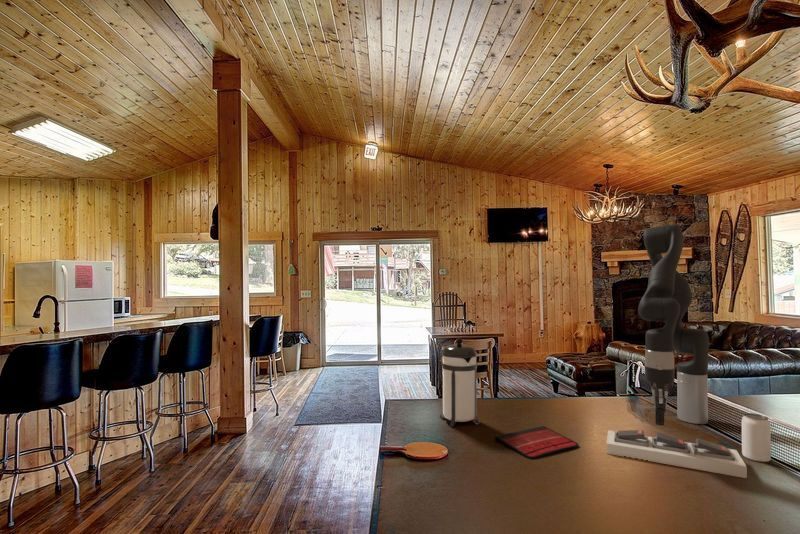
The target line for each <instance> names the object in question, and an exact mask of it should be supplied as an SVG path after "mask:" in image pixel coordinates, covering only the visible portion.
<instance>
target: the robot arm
mask: <svg viewBox="0 0 800 534" xmlns="http://www.w3.org/2000/svg"><path fill="white" fill-rule="evenodd" d="M684 241H685V240H684V235H683V230H682V228H681V227H680V226H679V224H666V225H659V226H653V227H648V228H646V229H645V230H644V231H643V243H644V246H645V250H646V253H647V255H648V258H649V261H650V264H651V266H652V268H651V270H650V271H649V274H648V280H647V281H648V283H647V288H646V290H645V292H644V294H643V296H642V297H641V299H640V301H639V304H638V307H637V313H638V316H639V318H641V319H642V320H644V321H646V322H661V323H663V322H664V326H662V327H660V328H653V329H652V328H651V329H647V330H646V331H645V352H644V380H645V381H647V382H649V383H653V384H654V386H653V385H651V393H652V394H651V395H652V404H653V406H654V407H653V408H654V415H655V416H654V417H655V418H654V420H655V421H654V422H655V425H657V426H662V427H663V426H665V414H666V412H667V411H666V410H667V409H666V407H667V404H668V403H667V401H668V397H669V395H668V394H669V391H668V388H667V387H665V386H666V385H672V384H674V383H675V380H676V387H677V388H676V389H677V390H676V391H677V392H676V394H677V395H676V396H677V397H676V398H677V399H676V400H677V402H676V403H677V406H676V407H677V412H676V413H677V416H676V417H677V419H679V420H680V421H682V422H686V423H690V424H696V425H699V424H700V425H704V424H708V423H709V394H708V393H709V392H708V390H709V389H708V385H709V384H708V368H709V348H710V338H709V333H708V332H707V331H706V330H704V329H699V328H690V327H684V326H683V324H682V319H683V317H684V316H685V314H686V312H687V311H688V309H689V308H690V306H691V304H692V302H693V295H692V292H691V287H690V283H689V282H688V281H689V280H687V278H686V277H684V275H682V274H681V273H680V272H679V271H677V268H678V266H679V262H680V259H681V257H682V252H683V248H684ZM662 254H664V255H662ZM674 351H675V352H677V353H680V354H681V353H682V354H688V355H693V358H692V359H690V360H688V361H682V362H678V363H677V365H676V379H675V355H674Z"/></svg>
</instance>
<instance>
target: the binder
mask: <svg viewBox="0 0 800 534" xmlns="http://www.w3.org/2000/svg"><path fill="white" fill-rule="evenodd" d="M494 441H495V442H502V443H504V444H503V447H505V448H508V449H509V450H511V451H513V452H515V453H516V454H518V455H519V456H522V457H524V458H527V459H530V460H536V459H539V458H542V457H545V456H548V455H551V454H556V453H558V452H562V451H567V450H575V449H578V448H579V443H578V442H576V441H574V440H573V439H571V438H568V437H566V436H565V435H563V434H560V433H559V432H557V431H554V430H552V429H550V428H548V427H547V426H543V425H541V426H537V427H532V428H528V429H524V430H519V431H514V432H510V433H503V434H500V435H495V436H494Z"/></svg>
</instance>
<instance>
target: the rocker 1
mask: <svg viewBox="0 0 800 534" xmlns="http://www.w3.org/2000/svg"><path fill="white" fill-rule="evenodd" d="M644 431H645V430H644V429H633V430H632V429H630V430H618V431H617V432H618V438H619V439H645V436H646V435H645V432H644Z"/></svg>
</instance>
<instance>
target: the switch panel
mask: <svg viewBox="0 0 800 534" xmlns="http://www.w3.org/2000/svg"><path fill="white" fill-rule="evenodd" d="M684 443H685V446H686V447H685V449H680V448H677V447H674V446H671V445H668V444H665V443H662V442H659V441H656V436H654V437H653V436H647V435H645V439H619V438H618V431H614V430H609V429H608V430H607V437H606V454H608V455H613V456H620V457H624V456H626V457H625V458H629V457H631V458H630V459H635V458H638V459H637V460H641V459H643V460H642V461H646V460H648V462H651V463H652V462H654V463H659V464H665V465H669V466H676V467H679V468H680V467H681V468H687V469H692V470H698V471H704V472H709V473H715V474H721V475H727V476H733V477H738V478H743V479H747V478H748V474H747V473H748V470H747V467H748V466H747V465H746V463H745V462H744V460H743V459H742V456H740V453H739V452H738V450H737V449H733V448H727V450H728V451H729V456H723V455H720V454H717V453H714V452H711V451H708V450H705V449H702V448H699V447H698V446H697V444H696V443H692V442H686V441H684Z"/></svg>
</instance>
